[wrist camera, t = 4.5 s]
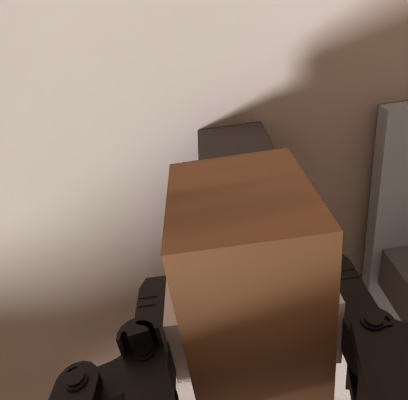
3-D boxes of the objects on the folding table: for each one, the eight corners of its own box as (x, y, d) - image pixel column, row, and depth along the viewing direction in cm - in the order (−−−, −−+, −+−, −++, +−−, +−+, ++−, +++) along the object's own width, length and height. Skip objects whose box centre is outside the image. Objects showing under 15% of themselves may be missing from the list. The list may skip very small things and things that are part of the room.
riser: (234, 370, 27) (240, 427, 23) (197, 130, 18) (198, 164, 14) (276, 365, 26) (288, 422, 23) (260, 121, 18) (277, 154, 14)
